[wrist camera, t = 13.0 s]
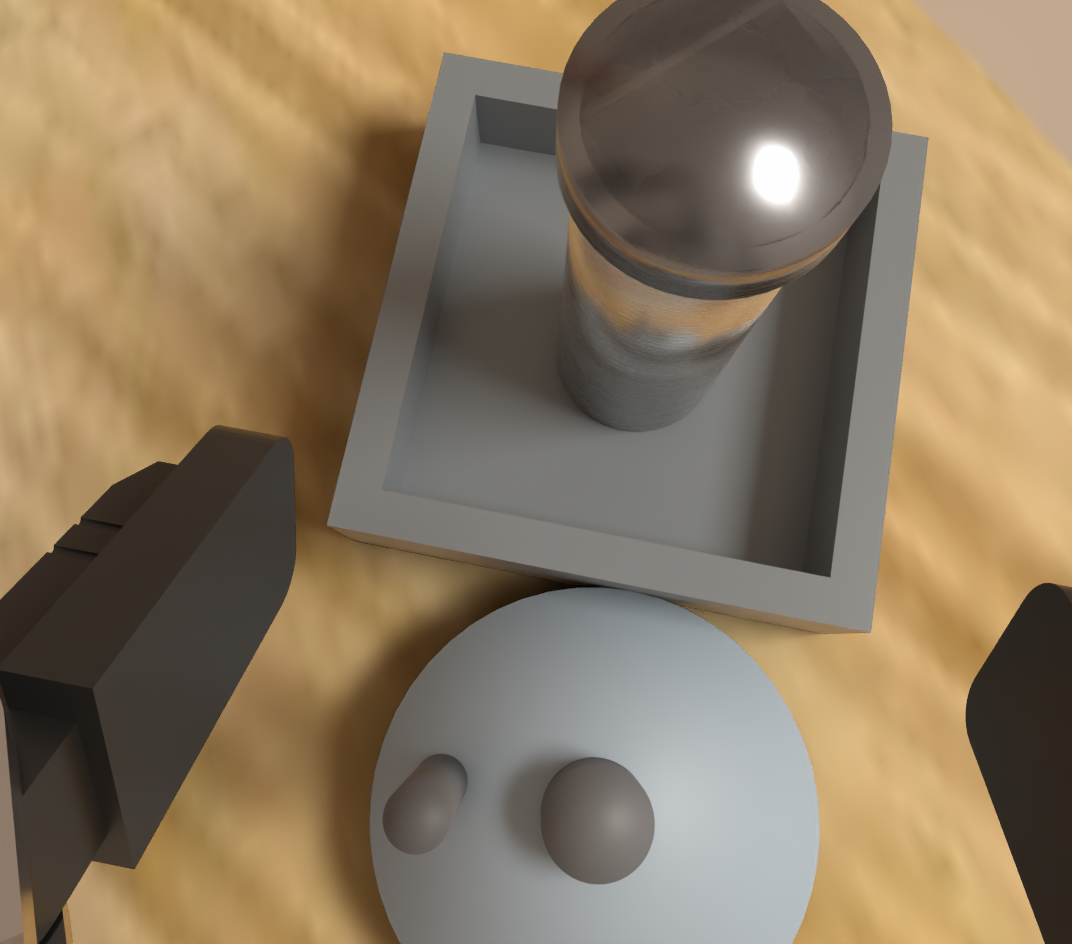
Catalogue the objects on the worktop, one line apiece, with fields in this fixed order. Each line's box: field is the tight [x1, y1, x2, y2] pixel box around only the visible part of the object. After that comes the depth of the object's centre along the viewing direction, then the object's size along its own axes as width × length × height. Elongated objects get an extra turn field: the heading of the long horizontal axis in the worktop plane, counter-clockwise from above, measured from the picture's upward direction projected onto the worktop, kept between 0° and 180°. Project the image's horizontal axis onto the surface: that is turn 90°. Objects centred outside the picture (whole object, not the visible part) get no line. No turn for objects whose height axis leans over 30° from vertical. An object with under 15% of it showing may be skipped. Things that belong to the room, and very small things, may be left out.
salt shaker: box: [555, 0, 892, 432], centre depth 16 cm, size 5×5×10 cm
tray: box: [327, 52, 928, 634], centre depth 21 cm, size 12×12×3 cm
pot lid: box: [370, 588, 820, 944], centre depth 18 cm, size 10×10×6 cm
